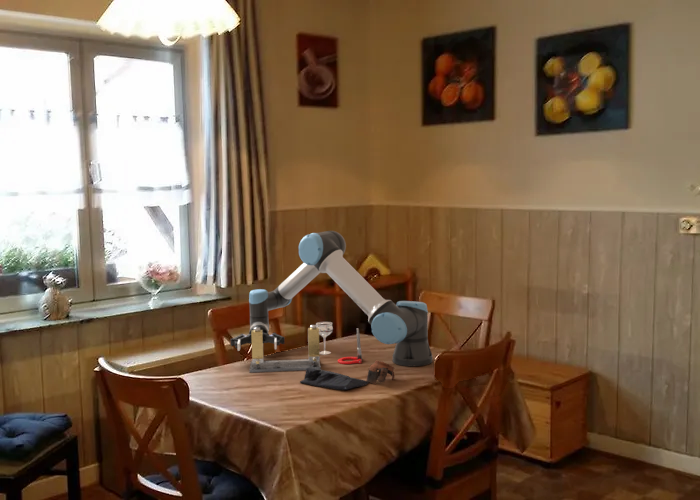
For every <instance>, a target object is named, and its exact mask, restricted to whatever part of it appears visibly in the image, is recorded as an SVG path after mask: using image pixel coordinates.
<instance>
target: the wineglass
mask: <svg viewBox="0 0 700 500" xmlns="http://www.w3.org/2000/svg"><path fill="white" fill-rule="evenodd" d="M315 325H317V328H319V336H321V338H323V350H322V351H319V352H320V355H329V354H331V353H332V352H331V351H330V350H329V351H328V350H326V338H327V337H328V336H330V335H331V334H332V333H333V330H334V328H333V322H331V321H319V322H316V323H315Z"/></svg>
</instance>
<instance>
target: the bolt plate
mask: <svg viewBox="0 0 700 500" xmlns="http://www.w3.org/2000/svg"><path fill="white" fill-rule="evenodd" d="M307 342H308V343H307V345H308V350H307V351H308V358H300V359H297V358H296V359H295V358H294V359H280V360H279V359H278V360H277V359H275V360H273V359H272V360H263V363H259V366H256V363H252V360H251V361H250V362H249V363H250V364H249V373H272V372H275V373H276V372H295V371H297V372H298V371H306V369H307V368H314V369H320V370H321V363H320V361H321V359H320V358H321V356H320V355H321V354H320V352H321V351H320V335H319V328H317V325H316V324H310V326H309V327H308V328H307Z"/></svg>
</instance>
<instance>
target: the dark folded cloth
mask: <svg viewBox="0 0 700 500" xmlns="http://www.w3.org/2000/svg"><path fill="white" fill-rule="evenodd" d="M299 383H300V384H302V385H304V384H305V385H308V386H312V387H313V386H314V387H318V388H320V387H321V388H326V389H329V390H330V389H332V390H336V391H337V390H338V391H346V390H351V389H355V388H360V387H364V386H367V385H368V384H369V382H367V381H366V380H364V379H360V378H356V377H351V376H349V375H345V374H342V373H339V372H334V371H331V370H330V371H329V370H324V369H321V368H320V369H314V368H307V369H306V370H305V374H304V378H303V379H302V380H301V381H299Z"/></svg>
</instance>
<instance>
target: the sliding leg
mask: <svg viewBox="0 0 700 500" xmlns="http://www.w3.org/2000/svg"><path fill="white" fill-rule="evenodd" d="M251 337H252V343H251V361H252V363H256V366H259V363H263V361H265V360H264V343H263V332H262V330H260V327H254V330H252V331H251Z"/></svg>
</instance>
